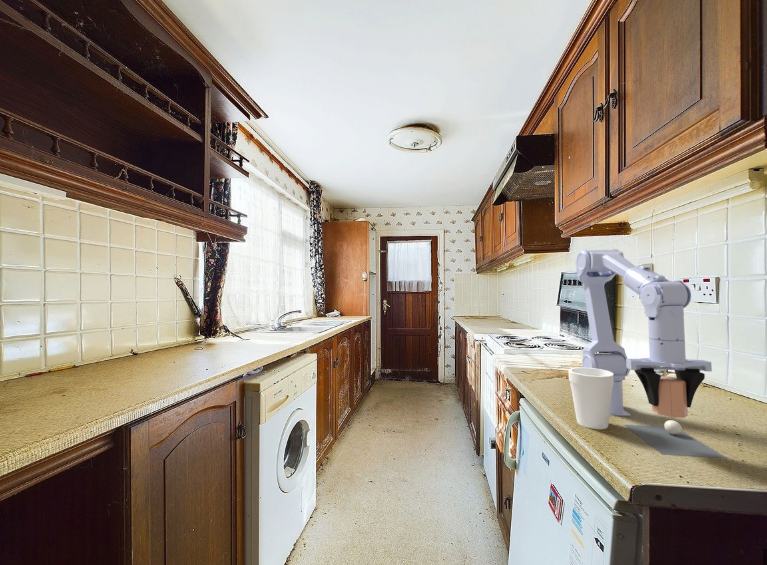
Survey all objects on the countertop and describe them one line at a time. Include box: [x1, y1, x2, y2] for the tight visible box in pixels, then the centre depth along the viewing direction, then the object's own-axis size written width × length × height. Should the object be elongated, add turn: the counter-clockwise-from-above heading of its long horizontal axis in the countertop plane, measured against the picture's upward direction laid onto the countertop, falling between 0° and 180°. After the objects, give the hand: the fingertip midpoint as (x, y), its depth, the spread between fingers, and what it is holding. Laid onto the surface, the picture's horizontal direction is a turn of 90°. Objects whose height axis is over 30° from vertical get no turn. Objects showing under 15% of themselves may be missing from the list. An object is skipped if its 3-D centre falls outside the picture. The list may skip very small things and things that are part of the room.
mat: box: [623, 424, 728, 459], centre depth 73 cm, size 15×11×1 cm
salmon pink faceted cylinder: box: [651, 375, 689, 419], centre depth 70 cm, size 5×5×7 cm
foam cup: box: [567, 367, 614, 430], centre depth 82 cm, size 10×9×13 cm
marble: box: [663, 419, 683, 435], centre depth 76 cm, size 3×3×3 cm
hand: (669, 405), depth 70 cm, fingers closed on salmon pink faceted cylinder, 5 cm apart
